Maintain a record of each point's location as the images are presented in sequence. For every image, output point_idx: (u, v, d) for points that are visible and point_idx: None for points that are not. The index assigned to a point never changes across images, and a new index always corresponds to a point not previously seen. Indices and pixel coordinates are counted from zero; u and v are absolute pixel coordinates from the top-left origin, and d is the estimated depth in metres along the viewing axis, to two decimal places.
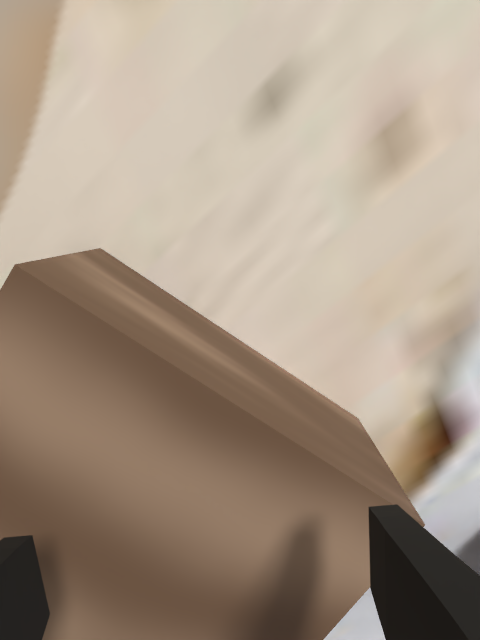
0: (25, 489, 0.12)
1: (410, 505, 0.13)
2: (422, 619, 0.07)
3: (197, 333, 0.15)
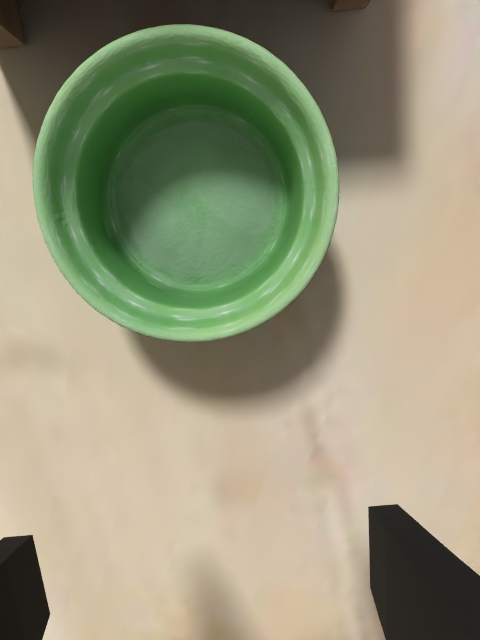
0: None
1: None
2: (422, 619, 0.07)
3: None
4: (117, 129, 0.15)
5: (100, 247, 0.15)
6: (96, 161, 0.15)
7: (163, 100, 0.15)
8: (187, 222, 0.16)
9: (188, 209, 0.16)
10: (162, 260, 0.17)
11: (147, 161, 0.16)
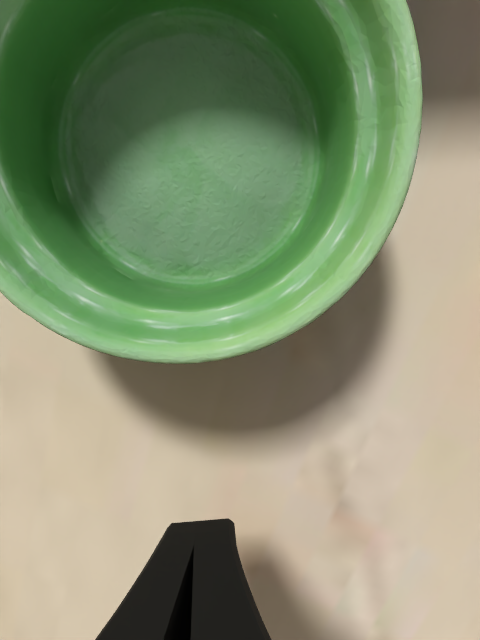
0: None
1: None
2: None
3: None
4: (71, 33, 0.10)
5: (38, 212, 0.10)
6: (36, 80, 0.10)
7: None
8: (174, 184, 0.11)
9: (176, 165, 0.11)
10: (137, 239, 0.12)
11: (118, 92, 0.11)
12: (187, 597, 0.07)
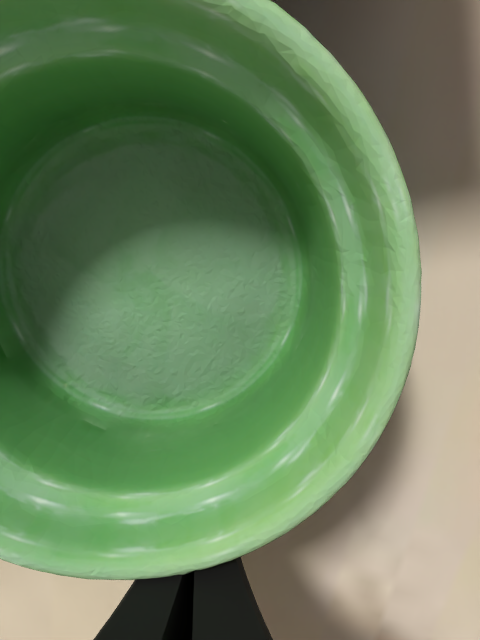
0: None
1: None
2: None
3: None
4: None
5: None
6: None
7: (66, 115, 0.08)
8: (139, 314, 0.10)
9: (136, 293, 0.10)
10: (106, 377, 0.10)
11: (59, 221, 0.09)
12: (185, 597, 0.07)
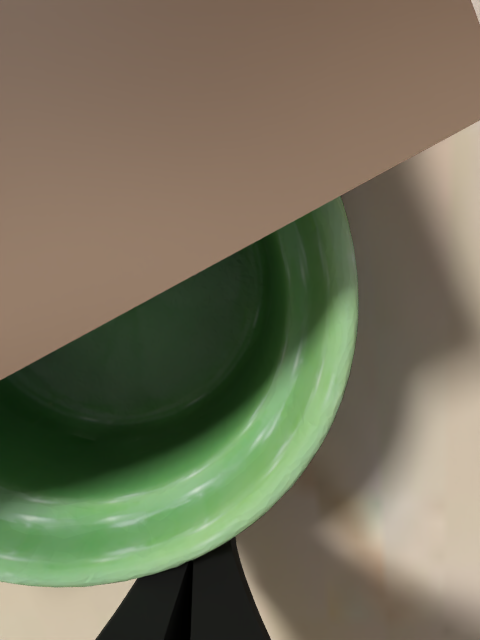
0: None
1: None
2: None
3: None
4: None
5: None
6: None
7: None
8: None
9: None
10: (88, 389, 0.10)
11: None
12: (187, 597, 0.07)
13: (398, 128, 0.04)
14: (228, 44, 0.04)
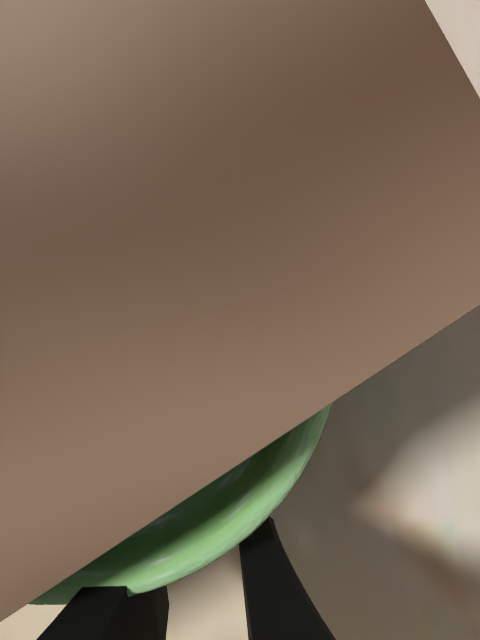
0: None
1: None
2: (250, 633, 0.07)
3: None
4: None
5: None
6: None
7: None
8: None
9: None
10: None
11: None
12: (133, 601, 0.07)
13: (465, 282, 0.05)
14: (308, 238, 0.05)
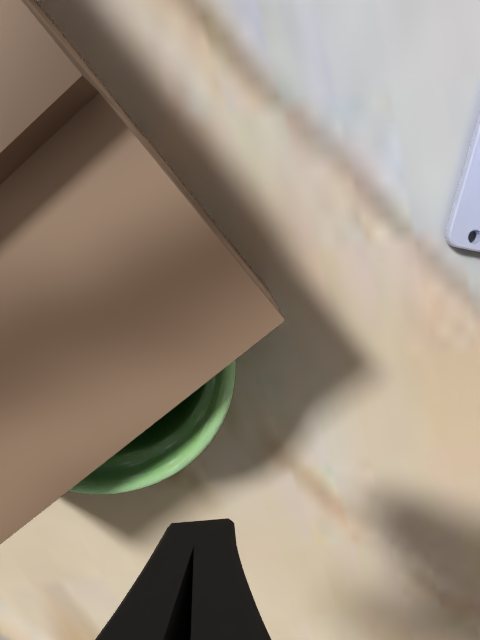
0: None
1: None
2: None
3: None
4: None
5: None
6: None
7: None
8: None
9: None
10: None
11: None
12: (187, 597, 0.07)
13: (249, 335, 0.12)
14: (184, 321, 0.12)
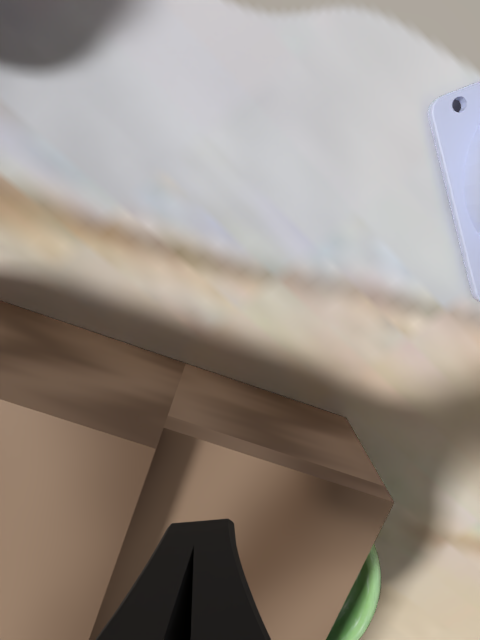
0: None
1: None
2: None
3: None
4: None
5: None
6: None
7: None
8: None
9: None
10: None
11: None
12: (187, 597, 0.07)
13: (371, 526, 0.13)
14: (315, 543, 0.13)
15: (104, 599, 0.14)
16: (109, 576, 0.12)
